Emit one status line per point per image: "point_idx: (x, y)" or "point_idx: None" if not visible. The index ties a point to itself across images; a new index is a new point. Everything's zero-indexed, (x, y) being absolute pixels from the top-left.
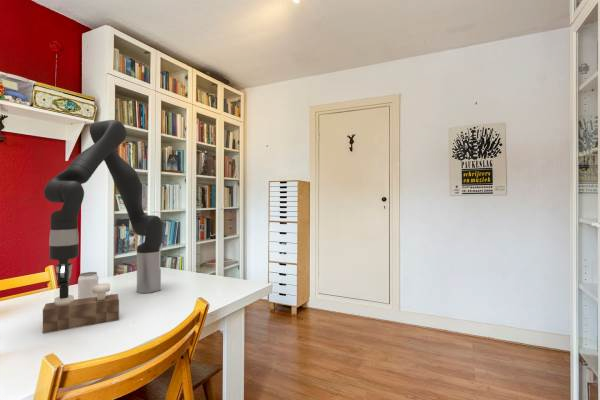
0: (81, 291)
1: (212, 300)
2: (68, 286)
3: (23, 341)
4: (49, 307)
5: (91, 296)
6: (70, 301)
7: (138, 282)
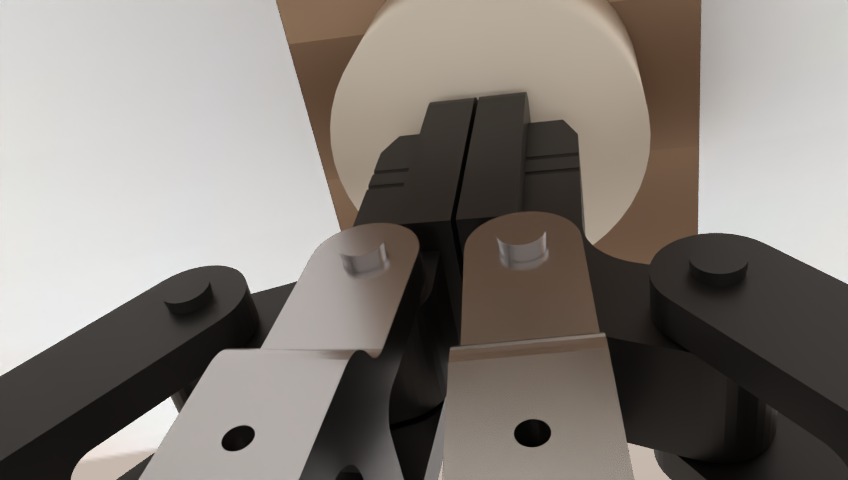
0: None
1: None
2: (417, 205)
3: (806, 244)
4: (604, 251)
5: None
6: (591, 5)
7: None
